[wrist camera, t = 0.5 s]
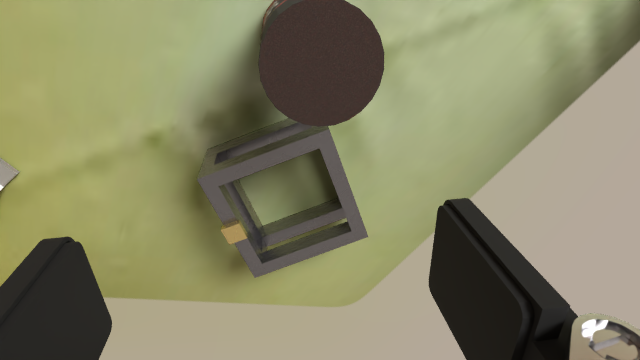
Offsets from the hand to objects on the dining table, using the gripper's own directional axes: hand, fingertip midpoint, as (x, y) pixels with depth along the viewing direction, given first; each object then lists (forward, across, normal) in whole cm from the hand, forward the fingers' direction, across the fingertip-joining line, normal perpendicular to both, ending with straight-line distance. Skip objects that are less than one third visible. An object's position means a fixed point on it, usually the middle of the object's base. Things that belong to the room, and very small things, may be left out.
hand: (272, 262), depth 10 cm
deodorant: (+25, -3, -3) cm, 26 cm away
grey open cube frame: (+25, -1, +10) cm, 27 cm away
